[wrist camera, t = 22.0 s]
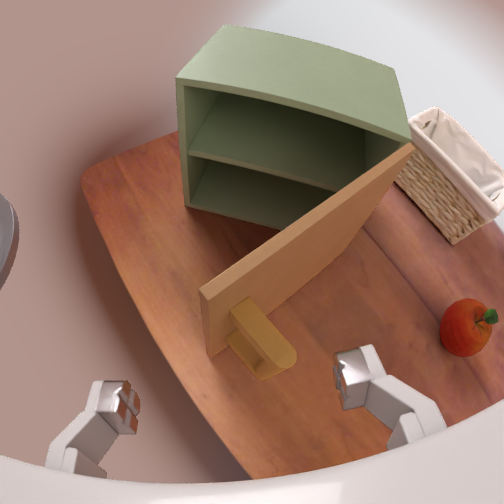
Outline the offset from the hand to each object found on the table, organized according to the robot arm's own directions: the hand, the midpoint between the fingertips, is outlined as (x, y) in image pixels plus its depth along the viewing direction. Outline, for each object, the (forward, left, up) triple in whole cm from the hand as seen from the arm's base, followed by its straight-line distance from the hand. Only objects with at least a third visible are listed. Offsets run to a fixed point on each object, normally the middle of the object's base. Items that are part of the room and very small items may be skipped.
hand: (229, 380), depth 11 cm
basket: (+52, +23, -30) cm, 64 cm away
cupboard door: (+13, +8, -30) cm, 33 cm away
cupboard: (+18, +31, -30) cm, 46 cm away
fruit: (+39, -4, -30) cm, 49 cm away
